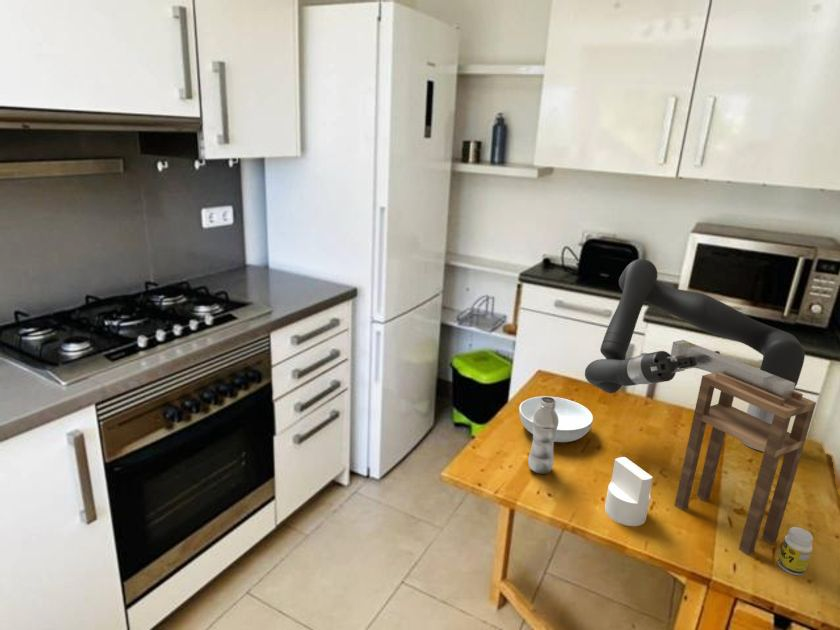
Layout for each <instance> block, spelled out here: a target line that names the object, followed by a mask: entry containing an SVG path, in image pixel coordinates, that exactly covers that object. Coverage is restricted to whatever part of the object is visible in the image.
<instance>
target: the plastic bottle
mask: <svg viewBox="0 0 840 630" xmlns="http://www.w3.org/2000/svg"><path fill="white" fill-rule="evenodd" d="M541 397H542V396H541ZM551 397H552V396H547V397H542V398H541V403H540V408H539V409H538V410H537V411H536V413H535V414H534V416H533V434H532V443H531V447H530V448H531V449H530V452H529V455H528V459H527V460H528V467H529V468H530V470H531V471H532V472H534V473H536V474H540V475H544V474H546V475H547V474H548V473H550V472H551V471H552V470H553V466H554V463H555V462H554V460H555V458H554V444H555V442H554V439H555V434H556V430H557V427H558V423H559V419H558V415H557V413H556V412H555V410H554V409H555V403H556V400H555V399H554V398H551Z"/></svg>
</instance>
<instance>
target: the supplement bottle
mask: <svg viewBox="0 0 840 630" xmlns="http://www.w3.org/2000/svg"><path fill="white" fill-rule="evenodd" d="M813 540H814V536H813V535H812V532H811V533H810V531H809V530H807V529H804V528H802V527H797V526H792V527H790V528H789V530H788V533H787V534H786V535H785V537H784V538H783V543H782V545H781V549H780V551H779V555H778V558H777V563H778V566H779V567H780V568H781V569H782V570H784V571H785V572H787V573H789V574H791V575H795V576H803V575H804V574H805V573H806V571H807V568H808V567H807V566H808V564H809V561H810V558H811V555H812V553H813V545H812V544H813Z"/></svg>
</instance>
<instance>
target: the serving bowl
mask: <svg viewBox="0 0 840 630" xmlns="http://www.w3.org/2000/svg"><path fill="white" fill-rule="evenodd" d="M542 397H548V396H547V395H546V396H545V395H544V396H534V397H531V398H527V399H526V400H523V401H522V402H521V403H520V404H519V409H518V411H519V418H520V422H521V423H522V425H523V427H524V428H525V429H526V430H527V431H528V432H529V433H530V434H532V435H533V416H534V414H535V413H536V411H537V410H538V409H539V408H540V403H541V398H542ZM550 397H551V398H554V399H555V400H556V403H555V409H554V410H555V412H556V413H557V415H558V419H559V423H558V427H557V430H556V434H555V439H554V443H569V442H573V441H577V440H579V439H581V438H582V437H585V435H587V433H588V432H589V431H590V430H591V427H592V426H593V425H592V424H593V422H594V416H593V413H592V412H591V411H590V410H589V409H588V408H587V407H586V406H584V405H582V404H581V403H578V402H576V401H573V400H571V399H566V398H563V397H557V396H550Z"/></svg>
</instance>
